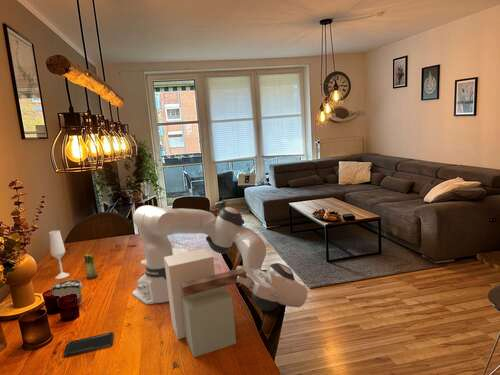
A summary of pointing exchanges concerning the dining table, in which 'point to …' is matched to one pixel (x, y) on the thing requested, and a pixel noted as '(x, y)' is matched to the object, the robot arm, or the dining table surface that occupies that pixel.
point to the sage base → (209, 321)
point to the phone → (89, 344)
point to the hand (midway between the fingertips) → (233, 275)
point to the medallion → (175, 251)
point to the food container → (68, 289)
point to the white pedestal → (184, 280)
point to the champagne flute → (57, 250)
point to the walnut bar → (211, 282)
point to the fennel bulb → (90, 266)
